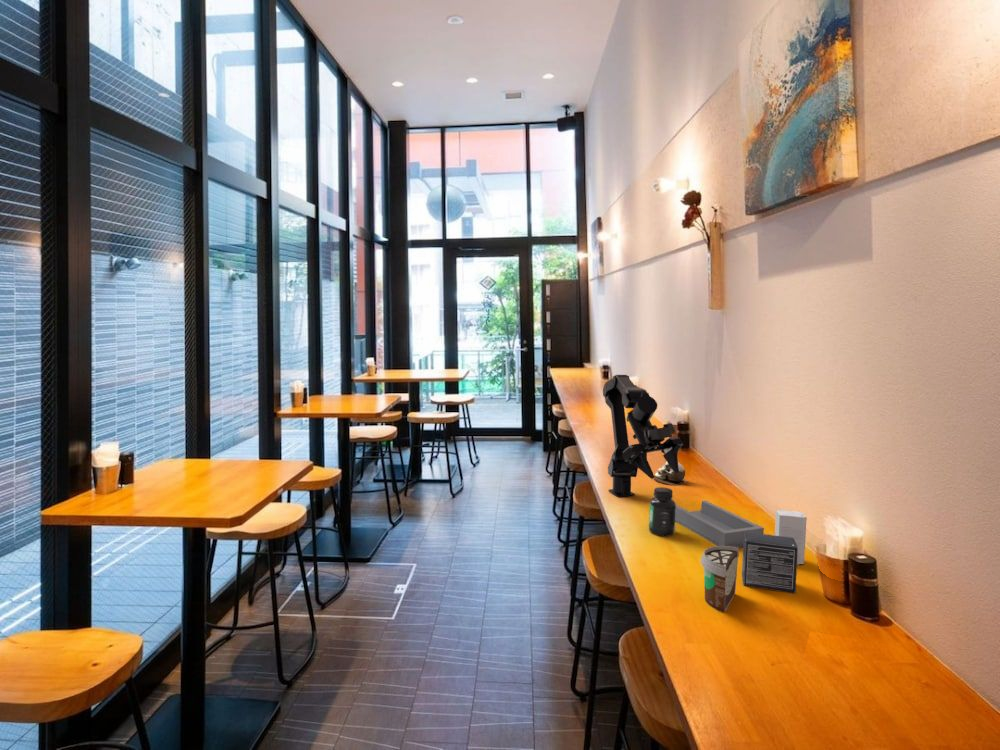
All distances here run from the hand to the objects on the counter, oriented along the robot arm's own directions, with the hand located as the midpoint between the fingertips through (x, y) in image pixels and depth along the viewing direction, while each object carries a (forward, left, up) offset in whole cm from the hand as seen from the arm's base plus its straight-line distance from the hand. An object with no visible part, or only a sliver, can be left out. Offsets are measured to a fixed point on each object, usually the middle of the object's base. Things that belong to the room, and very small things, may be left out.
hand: (665, 475), depth 161 cm
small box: (+39, +1, -14) cm, 41 cm away
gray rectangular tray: (+8, +11, -14) cm, 19 cm away
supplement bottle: (+6, -4, -14) cm, 16 cm away
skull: (-36, +28, -14) cm, 47 cm away
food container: (+41, -15, -14) cm, 46 cm away
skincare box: (+31, +15, -14) cm, 37 cm away
